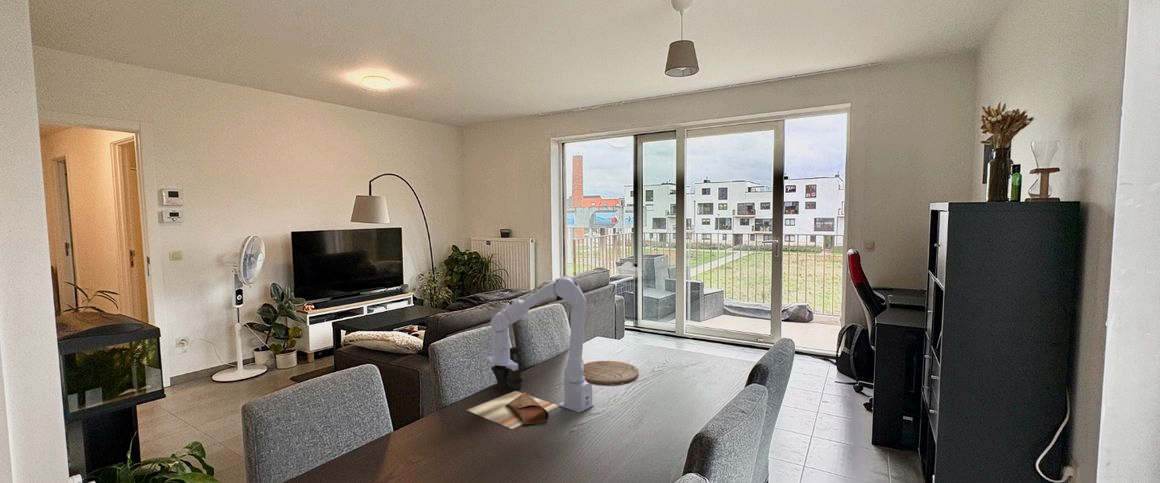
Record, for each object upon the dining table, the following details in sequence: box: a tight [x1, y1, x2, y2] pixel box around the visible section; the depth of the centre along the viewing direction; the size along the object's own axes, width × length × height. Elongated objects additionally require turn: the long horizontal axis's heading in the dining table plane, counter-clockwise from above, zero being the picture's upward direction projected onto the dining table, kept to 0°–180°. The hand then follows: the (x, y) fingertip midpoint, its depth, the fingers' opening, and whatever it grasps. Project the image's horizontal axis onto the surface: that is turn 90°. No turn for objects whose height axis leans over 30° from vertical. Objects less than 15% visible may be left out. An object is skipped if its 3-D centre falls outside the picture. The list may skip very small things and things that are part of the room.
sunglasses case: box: [506, 391, 550, 425], centre depth 156 cm, size 18×7×7 cm
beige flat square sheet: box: [466, 390, 561, 430], centre depth 160 cm, size 22×22×1 cm
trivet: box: [583, 360, 640, 386], centre depth 194 cm, size 25×25×2 cm
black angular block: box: [506, 346, 523, 391], centre depth 182 cm, size 4×13×15 cm, turn 31°
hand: (501, 386), depth 163 cm, fingers closed
